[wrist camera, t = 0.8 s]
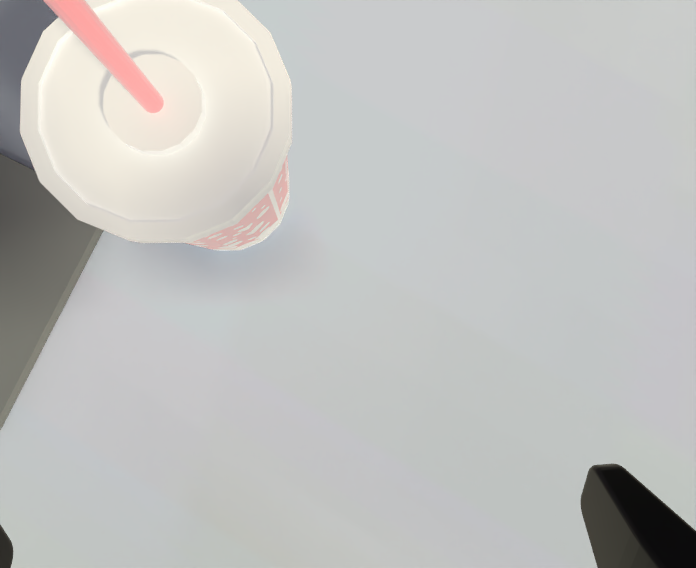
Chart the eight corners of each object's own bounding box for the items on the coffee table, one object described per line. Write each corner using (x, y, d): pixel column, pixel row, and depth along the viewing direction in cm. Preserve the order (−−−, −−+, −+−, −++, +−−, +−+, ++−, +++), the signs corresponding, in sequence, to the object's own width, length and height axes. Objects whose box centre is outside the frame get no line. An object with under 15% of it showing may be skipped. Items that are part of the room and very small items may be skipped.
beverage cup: (206, 79, 22) (-8, -311, 8) (341, 167, 22) (350, -77, 8) (114, 213, 22) (-268, 37, 8) (251, 303, 22) (103, 284, 8)
